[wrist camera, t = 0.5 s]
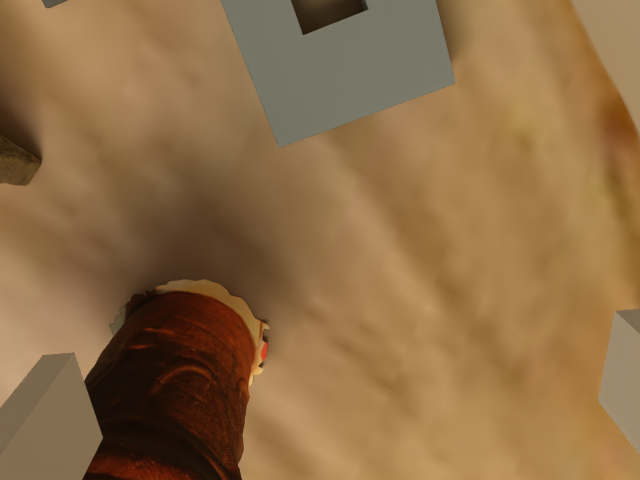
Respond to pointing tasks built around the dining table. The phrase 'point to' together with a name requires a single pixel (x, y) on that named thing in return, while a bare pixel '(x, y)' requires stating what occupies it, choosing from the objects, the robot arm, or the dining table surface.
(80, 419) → the robot arm
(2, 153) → the rock
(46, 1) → the mat
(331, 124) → the block
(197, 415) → the vessel
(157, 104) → the dining table surface
